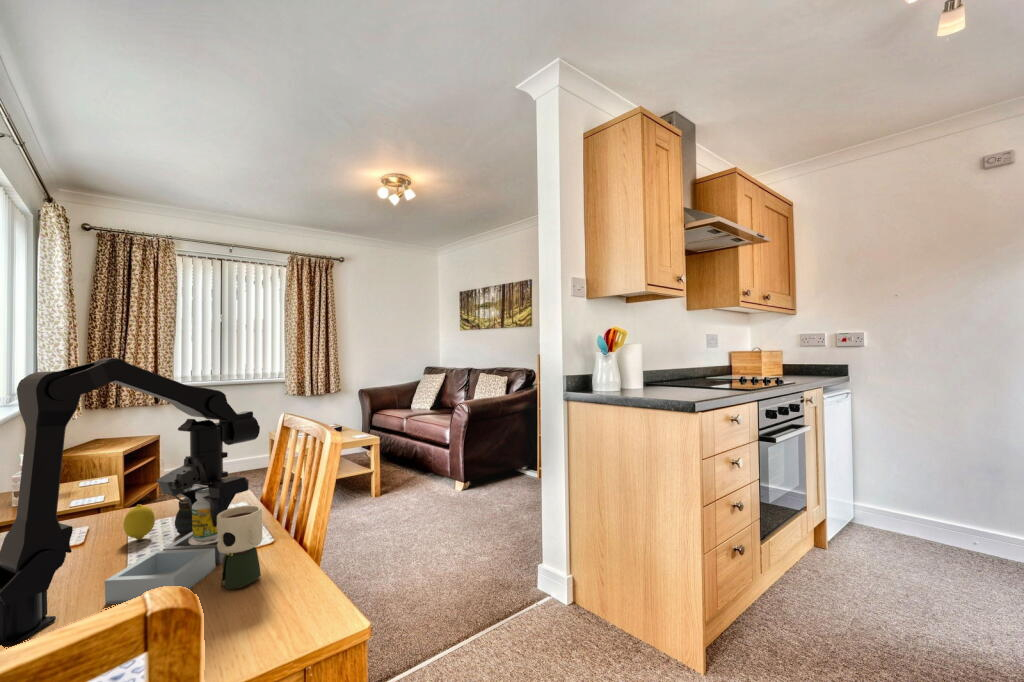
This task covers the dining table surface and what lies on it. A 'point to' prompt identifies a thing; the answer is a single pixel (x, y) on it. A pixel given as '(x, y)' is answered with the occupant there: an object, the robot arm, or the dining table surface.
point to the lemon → (139, 521)
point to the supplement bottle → (202, 518)
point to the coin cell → (202, 542)
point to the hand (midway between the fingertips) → (207, 524)
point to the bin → (160, 573)
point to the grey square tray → (195, 547)
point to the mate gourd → (183, 517)
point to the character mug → (240, 544)
